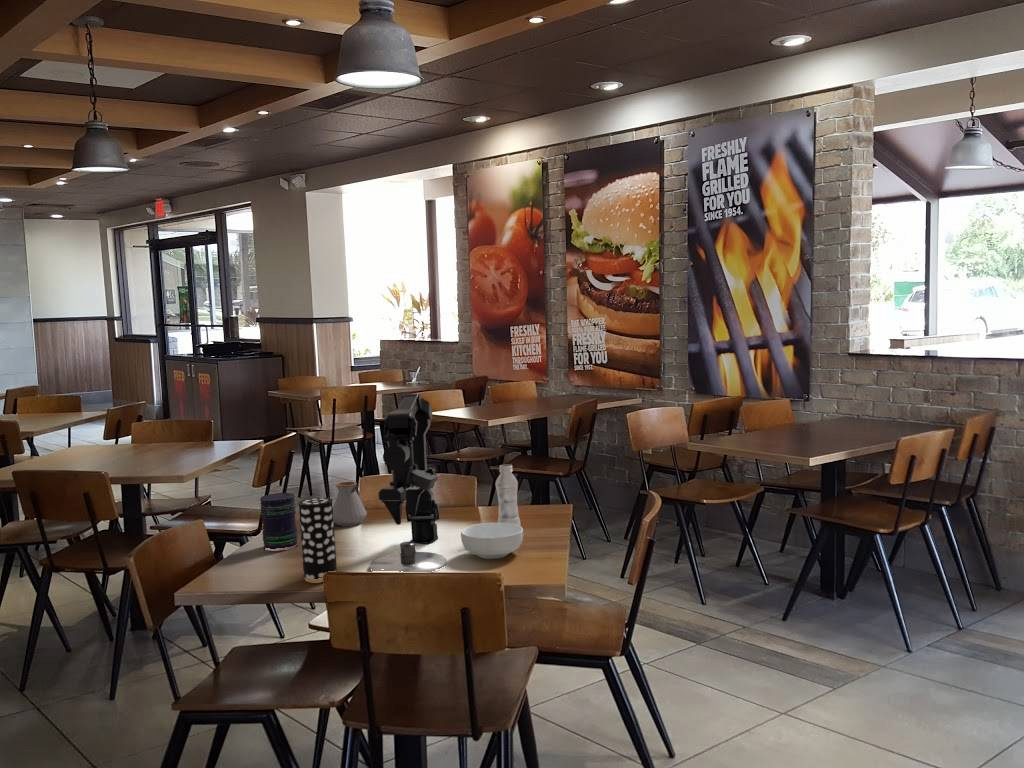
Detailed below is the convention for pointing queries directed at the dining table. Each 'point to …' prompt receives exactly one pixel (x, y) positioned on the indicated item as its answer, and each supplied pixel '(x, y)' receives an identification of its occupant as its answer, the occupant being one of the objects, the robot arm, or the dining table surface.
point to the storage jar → (279, 520)
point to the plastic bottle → (507, 495)
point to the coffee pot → (348, 505)
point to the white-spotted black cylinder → (317, 537)
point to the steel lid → (409, 560)
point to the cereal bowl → (492, 539)
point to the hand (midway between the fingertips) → (406, 520)
